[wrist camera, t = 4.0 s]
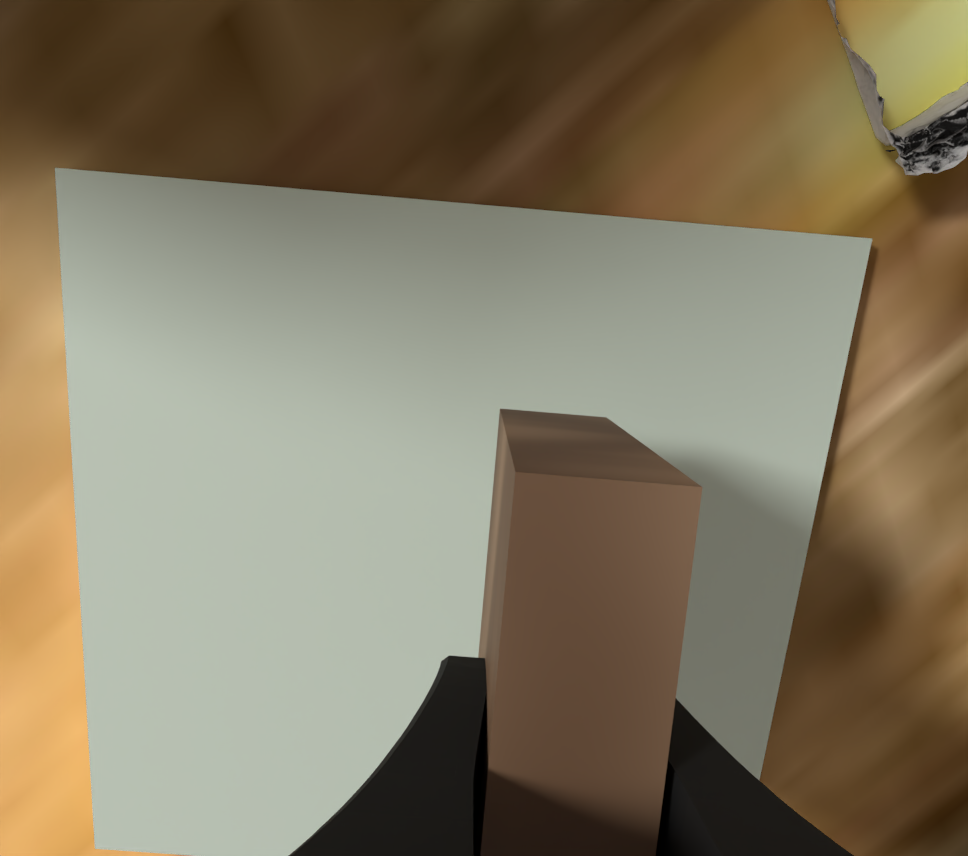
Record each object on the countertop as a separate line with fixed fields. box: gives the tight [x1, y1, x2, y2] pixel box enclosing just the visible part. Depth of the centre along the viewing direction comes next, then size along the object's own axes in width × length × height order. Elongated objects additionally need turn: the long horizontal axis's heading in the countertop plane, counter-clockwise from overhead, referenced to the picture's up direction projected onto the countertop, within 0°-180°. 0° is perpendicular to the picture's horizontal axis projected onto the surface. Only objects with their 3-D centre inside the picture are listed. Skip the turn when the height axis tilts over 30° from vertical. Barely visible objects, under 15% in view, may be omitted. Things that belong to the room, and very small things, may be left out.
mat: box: [55, 168, 872, 856], centre depth 19 cm, size 18×18×1 cm
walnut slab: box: [473, 409, 702, 856], centre depth 11 cm, size 2×8×6 cm, turn 175°
